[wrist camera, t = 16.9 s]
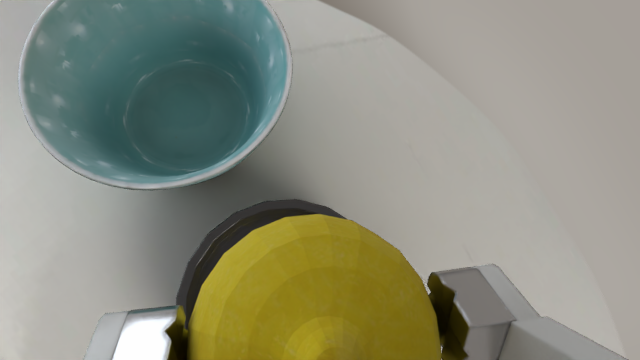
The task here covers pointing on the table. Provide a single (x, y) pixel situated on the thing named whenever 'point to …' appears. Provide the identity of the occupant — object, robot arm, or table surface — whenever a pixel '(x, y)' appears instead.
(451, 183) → the table surface
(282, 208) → the pan
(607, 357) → the robot arm
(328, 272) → the fruit
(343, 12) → the table surface
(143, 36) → the bowl
